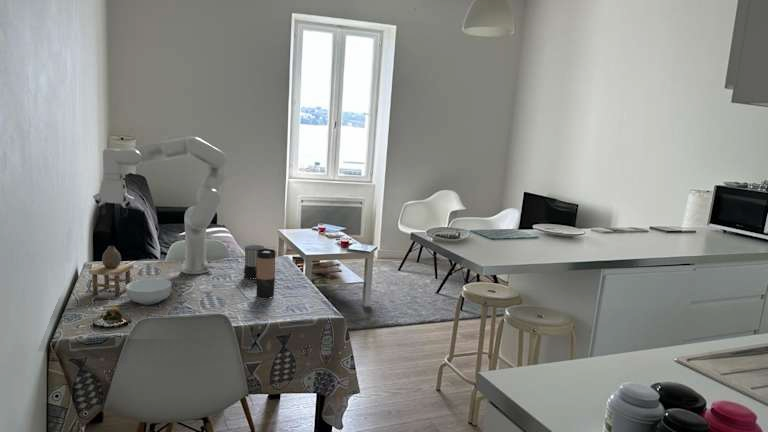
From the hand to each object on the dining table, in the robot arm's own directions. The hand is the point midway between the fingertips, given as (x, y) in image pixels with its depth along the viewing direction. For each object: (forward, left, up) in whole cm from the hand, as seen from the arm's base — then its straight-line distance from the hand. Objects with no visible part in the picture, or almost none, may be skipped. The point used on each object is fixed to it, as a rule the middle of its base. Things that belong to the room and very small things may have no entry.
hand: (113, 215), depth 238 cm
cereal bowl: (-28, +28, -29) cm, 49 cm away
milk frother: (-58, -18, -29) cm, 67 cm away
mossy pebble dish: (-26, +53, -29) cm, 66 cm away
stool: (-9, +20, -28) cm, 36 cm away
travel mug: (-71, +13, -28) cm, 78 cm away
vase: (-9, +20, -18) cm, 28 cm away
